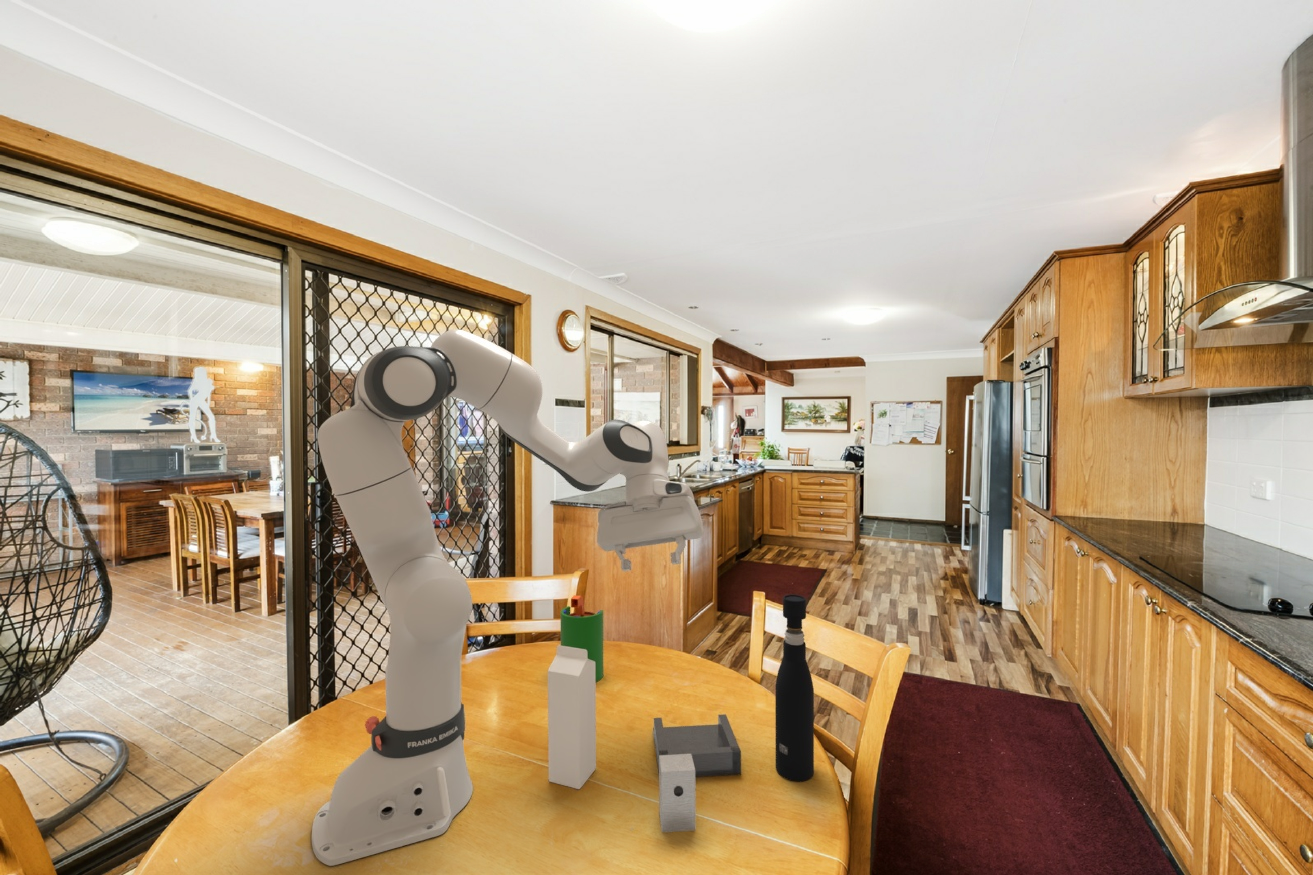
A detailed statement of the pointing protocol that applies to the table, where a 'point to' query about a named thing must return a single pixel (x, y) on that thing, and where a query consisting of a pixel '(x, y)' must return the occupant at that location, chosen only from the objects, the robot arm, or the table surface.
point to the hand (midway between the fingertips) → (650, 566)
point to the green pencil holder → (584, 632)
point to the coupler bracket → (701, 746)
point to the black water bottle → (794, 699)
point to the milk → (571, 717)
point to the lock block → (677, 793)
